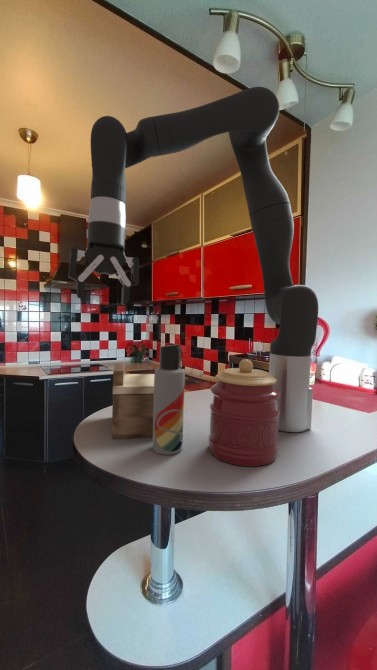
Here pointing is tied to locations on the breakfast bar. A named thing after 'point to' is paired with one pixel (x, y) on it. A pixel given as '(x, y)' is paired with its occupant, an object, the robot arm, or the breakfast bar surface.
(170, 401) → the lotion bottle
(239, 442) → the canister
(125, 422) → the wooden box
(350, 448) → the breakfast bar surface
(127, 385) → the lid
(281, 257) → the robot arm
